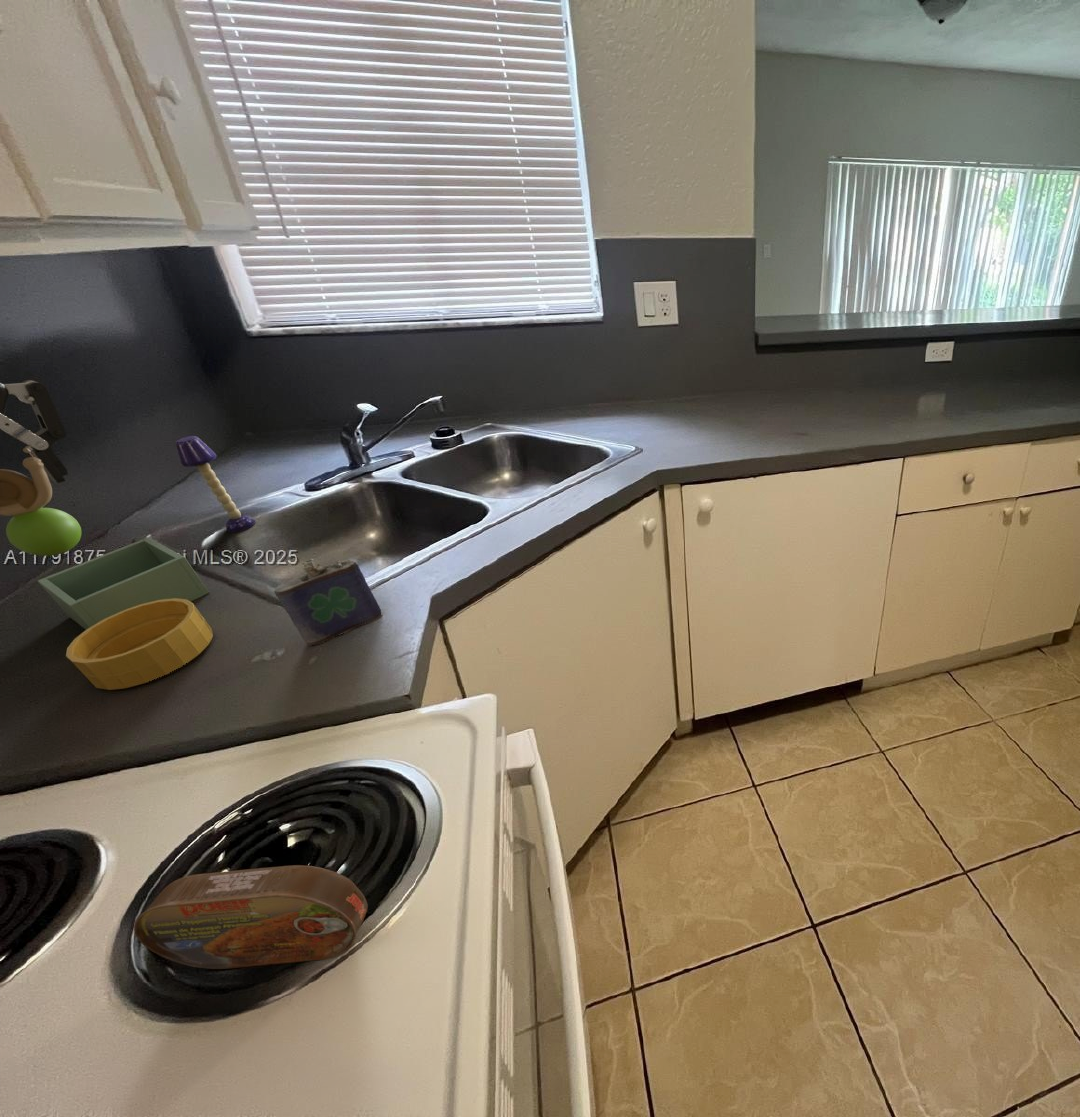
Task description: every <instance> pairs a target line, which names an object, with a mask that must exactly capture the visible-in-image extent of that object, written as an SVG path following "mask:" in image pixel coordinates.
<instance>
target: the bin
mask: <svg viewBox="0 0 1080 1117" xmlns="http://www.w3.org/2000/svg"><path fill="white" fill-rule="evenodd" d="M37 583H39V585H40V586H41V587H42V588H43V589H44V590H45V591H46V593H47V594H49V596H50V597H51V598H52V599H53V601H55V603H56V604H57V605H58V606H59V607H60V608H61V609H62V611H64V613H65V614H66V615H67V616H68V617H69V618H70V619H72V621H73V622H75V623H77V625H79V626H80V627H81V628H83V629H84V631H85V630H87V629H88V628H90V627H91V626H93V625H95V624H97V623H98V622H100V621H102V620H104V619H105V618H108V617H110V616H112V615H114V614H117V613H119V612H121V611H123V610H126V609H129V608H132V607H135V606H138V605H140V604H144V603H148V602H153V601H157V600H163V599H173V598H178V599H186V600H188V601H190V602H192V601H195V600H197V599H199V598H201V597H204V596H205V595H207V594H209V593H210V591H209V590H208V588H207V586H205V584H204V583H203V581H202V580H201V578H200V576H199V575H198V573H197V572H196V571H195V570H194V568H193V566H192V565H191V564H190V563H189V561H188V560H187V558H186V556H184V555H182V554H180V553H179V552H176V551H174V550H172V549H171V548H169V547H167V546H165V545H163V544H161V543H160V542H157V541H156V540H153V539H152V538H150V537H145V538H143V539H141V540H138V541H135V542H132V543H130V544H128V545H125V546H123V547H122V546H121V547H120V548H117V549H114V550H113V551H110V552H107V553H105V554H102V555H100V556H97V557H94V558H92V559H90V560H86V561H84V562H81V563H79V564H76V565H74V566H71V567H69V568H66V569H64V570H61V571H58V572H56V573H53V574H50V575H48V576H46V577H43V578H40V579H37Z"/></svg>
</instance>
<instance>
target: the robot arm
mask: <svg viewBox="0 0 1080 1117" xmlns="http://www.w3.org/2000/svg"><path fill="white" fill-rule="evenodd" d="M10 395H13V396H15V397H17V399H18V400H19V401H20V402H22V403H25V404H28V405H30V406H31V408H32V410H33V412H34V415H35V417H36V419H37V421H38V423H39V426H40V428H41V429H40V430H37V431H36V432H35V433H33V431H31V430H29V429H27V428H26V427H24V426H22V425H21V424H20V423H18V422H16V421H14V420H13V419H11V418H9V417H8V416H6V415H5V414H6V410H7V405H8V400H9V397H10ZM0 430H1V431H3V432H5V433H6V434H8V435H9V436H12V437H13V438H15V439H16V440H18V441H20V442H21V443H24V444H25V445H26V446H31V447H32V448H33V450H32V452H33V453H34V454H35V456H36V458H38V459H40V460H41V462H42V463H43V467H44V470H45V472H46V474H47V476H48V478H49V480H51V482H53V483H55V484H60V483H64V482H66V479H65V478H64V476H67V475H68V469H67V468H66V466H65V465H64V464H63V462H62V461H61V459H60V458H59V457H58V456H57V454H56V453H55V452H54V450H53V449H52V446H53V444H54V443H56V442H57V441H59V440H62V439H64V438H66V437H67V431H66V429H65V427H64V424H63V422H62V419H61V418H60V415H59V413H58V411H57V409H56V406H55V404H54V401H53V400H52V397H51V395H50V392H49V390H48V388H47V386H46V385H44V383H41V382H38V381H35V380H32V379H26V380H23V381H22V382H17V383H15V382H14V383H1V382H0ZM32 452H30V453H31V455H32V456H33V457H35V456H34V454H33V453H32Z"/></svg>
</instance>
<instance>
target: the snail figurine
mask: <svg viewBox="0 0 1080 1117" xmlns="http://www.w3.org/2000/svg"><path fill="white" fill-rule="evenodd" d="M32 450H33V448H32V447H31V446H28V445H26V446H25V447H24V448H23V449H22V452H23V453H25V454H29V455H30V456H29V457H25V458H24V459H23V460H22V466H23V467H24V468H25V469H26V470H28V471H29V474H30V475H31V478H30V477H28V476H27V475H25V474H23V473H21V472H18V471H15V470H11V469H5V468H0V516H6V517H11V518H10V520H9V521H8V522H7V525H6V529H5V534H6V538H7V539H8V541H9V543H10V544H11V545H12V546H14V548H16V549H17V550H19V551H21V552H24V553H26V554H29V555H33V556H39V557H40V556H41V557H51V556H58V555H61V554H64V553H67V552H69V551H70V550H72V549H73V548H75V547H76V546H77V544H78V543H79V542H80V541H81V538H82V527H81V525H80V523H79V522H78V520H77V519H76V518H75V517H74V516H72V515H71V514H69V513H67V512H66V511H63V510H62V509H61V510H60V509H57V508H52V507H44V506H46V505H47V504H48V503H50V501H51V500H52V498H53V488H52V484H51V481H50V477H49V476H48V475H47V474H46V472H45V470H44V467H43V463H42V462H41V460H40V459H38V458H36V456H35V454H34V453H33V452H32ZM30 452H32V453H33V454H34V456H35V457H33V455H32V454H31V453H30Z"/></svg>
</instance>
